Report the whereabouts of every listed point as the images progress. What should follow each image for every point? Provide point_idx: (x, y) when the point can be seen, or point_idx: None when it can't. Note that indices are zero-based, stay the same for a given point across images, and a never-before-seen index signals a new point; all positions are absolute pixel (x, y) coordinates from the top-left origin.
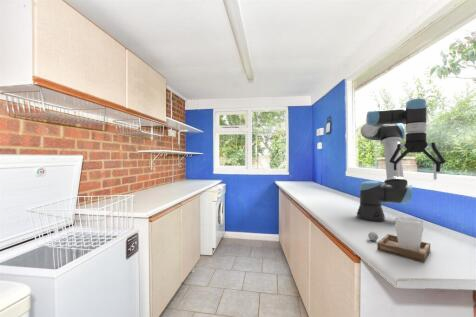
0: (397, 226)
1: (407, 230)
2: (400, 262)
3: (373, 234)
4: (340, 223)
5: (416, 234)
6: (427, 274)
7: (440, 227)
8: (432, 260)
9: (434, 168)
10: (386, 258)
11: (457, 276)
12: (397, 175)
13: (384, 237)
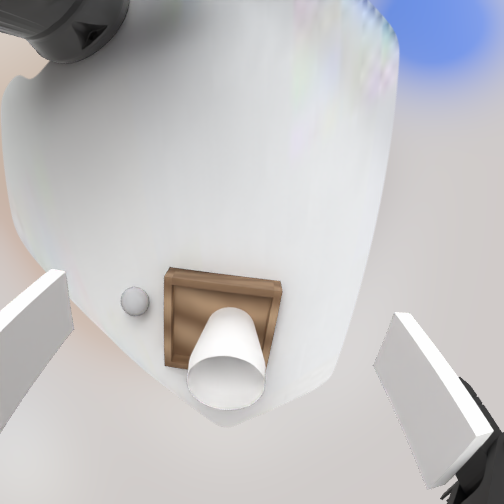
0: (199, 384)
1: (226, 392)
2: None
3: (136, 315)
4: (19, 181)
5: (248, 381)
6: (266, 404)
7: None
8: (279, 343)
9: (418, 452)
10: None
11: (311, 385)
12: (58, 338)
13: (165, 317)
